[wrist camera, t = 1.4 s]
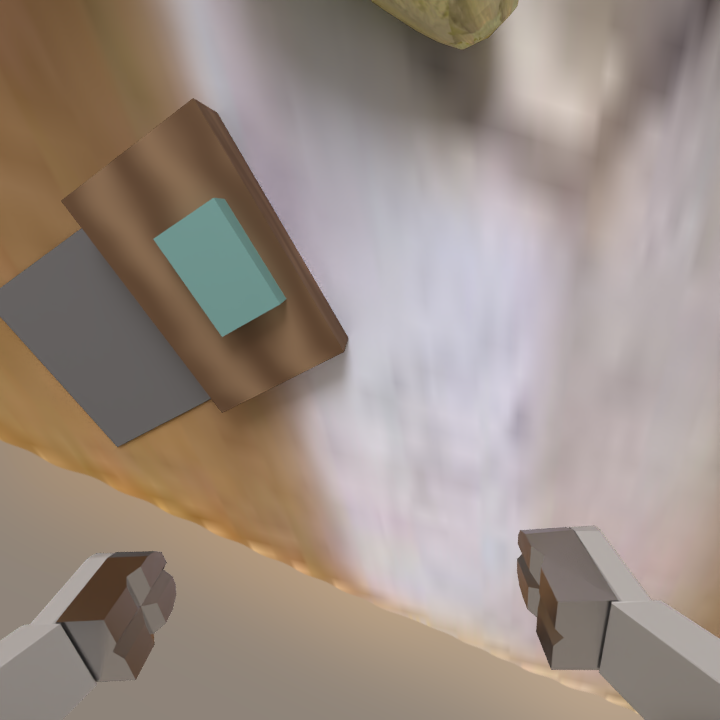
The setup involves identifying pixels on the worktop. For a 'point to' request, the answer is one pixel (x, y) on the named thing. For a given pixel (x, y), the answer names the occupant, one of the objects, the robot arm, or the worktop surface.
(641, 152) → the worktop surface
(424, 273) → the worktop surface
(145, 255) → the board
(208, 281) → the teal block
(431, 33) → the lettuce
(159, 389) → the grey mat
